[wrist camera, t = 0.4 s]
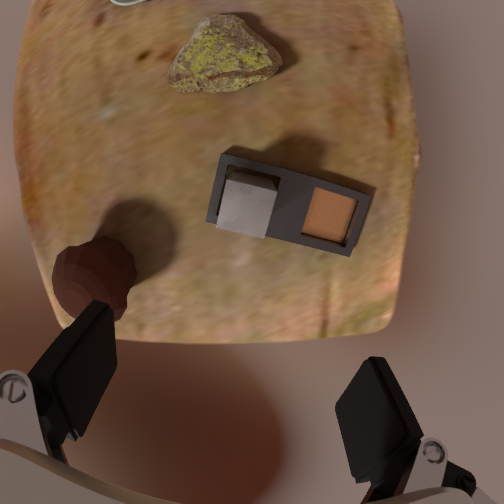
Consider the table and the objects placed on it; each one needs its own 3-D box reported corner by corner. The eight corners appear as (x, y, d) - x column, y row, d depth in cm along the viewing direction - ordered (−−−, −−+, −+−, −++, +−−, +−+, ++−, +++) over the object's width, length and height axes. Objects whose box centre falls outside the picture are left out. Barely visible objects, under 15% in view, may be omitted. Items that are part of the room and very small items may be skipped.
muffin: (138, 226, 33) (101, 256, 24) (152, 300, 37) (127, 344, 28) (70, 230, 33) (28, 258, 24) (88, 297, 37) (56, 333, 28)
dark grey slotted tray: (222, 153, 30) (220, 153, 28) (366, 194, 31) (371, 196, 30) (207, 218, 32) (205, 221, 31) (346, 252, 34) (349, 257, 33)
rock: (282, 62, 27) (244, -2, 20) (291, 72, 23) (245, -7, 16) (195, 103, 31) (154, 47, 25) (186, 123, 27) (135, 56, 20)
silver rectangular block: (233, 170, 30) (226, 179, 23) (271, 180, 31) (277, 191, 23) (225, 207, 32) (215, 227, 25) (262, 216, 32) (264, 239, 25)
